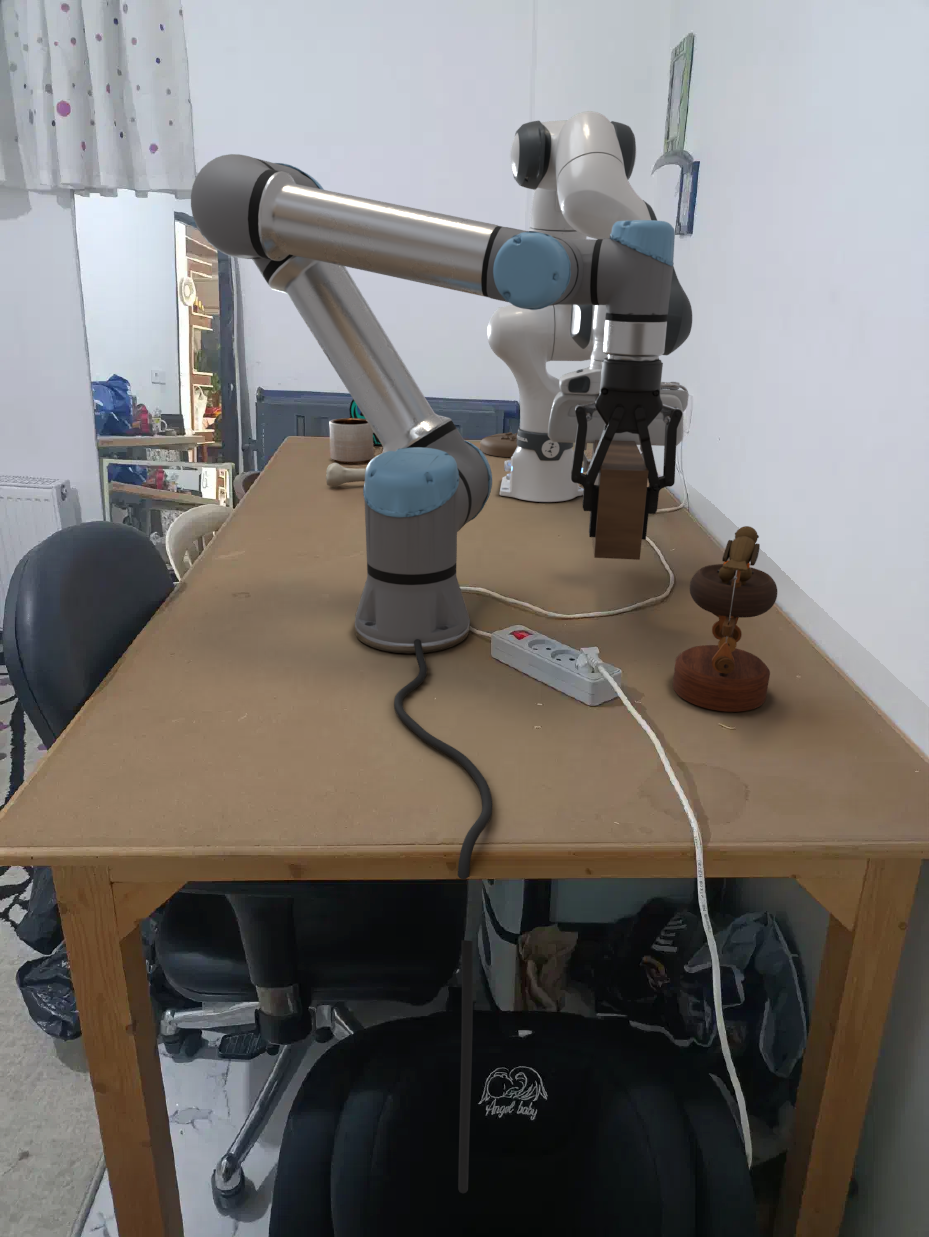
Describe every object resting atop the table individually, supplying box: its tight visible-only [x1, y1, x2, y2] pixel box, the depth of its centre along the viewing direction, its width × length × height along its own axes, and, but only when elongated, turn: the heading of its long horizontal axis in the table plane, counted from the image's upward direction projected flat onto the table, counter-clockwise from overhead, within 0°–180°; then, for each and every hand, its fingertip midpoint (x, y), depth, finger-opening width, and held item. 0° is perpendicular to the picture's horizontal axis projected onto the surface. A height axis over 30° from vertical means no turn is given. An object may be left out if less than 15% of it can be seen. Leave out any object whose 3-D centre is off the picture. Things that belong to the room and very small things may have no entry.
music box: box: [672, 525, 778, 713], centre depth 95 cm, size 15×11×20 cm
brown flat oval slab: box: [479, 431, 518, 458], centre depth 221 cm, size 21×28×4 cm
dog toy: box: [325, 462, 366, 487], centre depth 188 cm, size 20×6×5 cm, turn 99°
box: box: [588, 440, 649, 561], centre depth 122 cm, size 26×6×12 cm, turn 174°
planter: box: [328, 417, 375, 464], centre depth 212 cm, size 11×11×10 cm
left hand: (617, 535), depth 114 cm, fingers closed on box, 6 cm apart
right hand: (611, 472), depth 131 cm, fingers closed on box, 6 cm apart
